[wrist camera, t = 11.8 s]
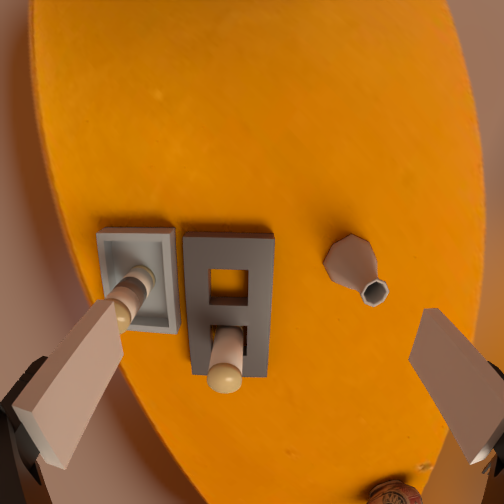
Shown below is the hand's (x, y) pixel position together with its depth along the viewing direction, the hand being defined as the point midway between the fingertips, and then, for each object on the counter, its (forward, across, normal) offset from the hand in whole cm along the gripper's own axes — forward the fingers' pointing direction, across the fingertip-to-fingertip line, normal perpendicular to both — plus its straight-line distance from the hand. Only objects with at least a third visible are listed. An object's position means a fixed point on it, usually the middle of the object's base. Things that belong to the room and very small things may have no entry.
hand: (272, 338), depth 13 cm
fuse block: (+28, -3, -14) cm, 32 cm away
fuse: (+28, -3, -18) cm, 34 cm away
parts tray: (+28, -16, -10) cm, 34 cm away
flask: (+29, +12, -7) cm, 32 cm away
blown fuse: (+28, -16, -10) cm, 33 cm away
